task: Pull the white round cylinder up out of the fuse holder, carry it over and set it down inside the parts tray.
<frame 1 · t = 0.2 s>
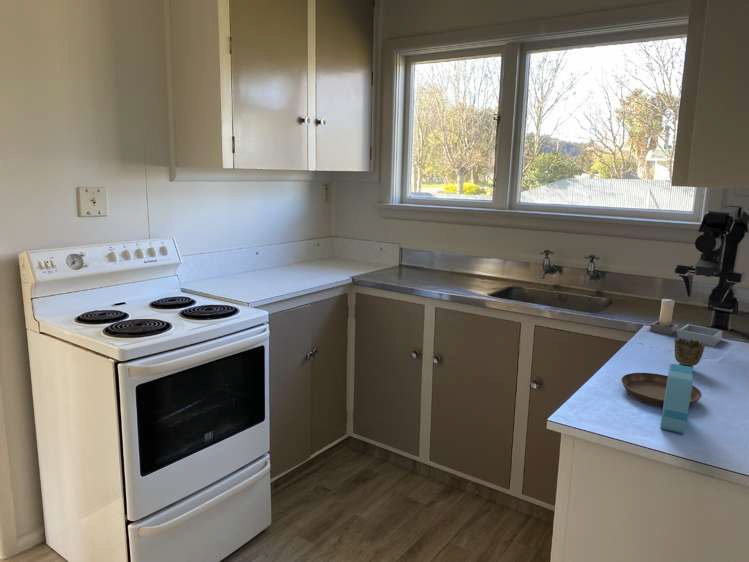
hand: (704, 299, 182), 15 cm above the countertop, tool pointing down, fingers open, 9 cm apart
cup: (685, 369, 159), on the countertop
fuse holder: (663, 334, 193), on the countertop
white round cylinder: (663, 331, 193), point 1 cm above the countertop, touching fuse holder
data package: (672, 423, 124), on the countertop
parts tray: (698, 342, 186), on the countertop
plant saucer: (658, 398, 139), on the countertop
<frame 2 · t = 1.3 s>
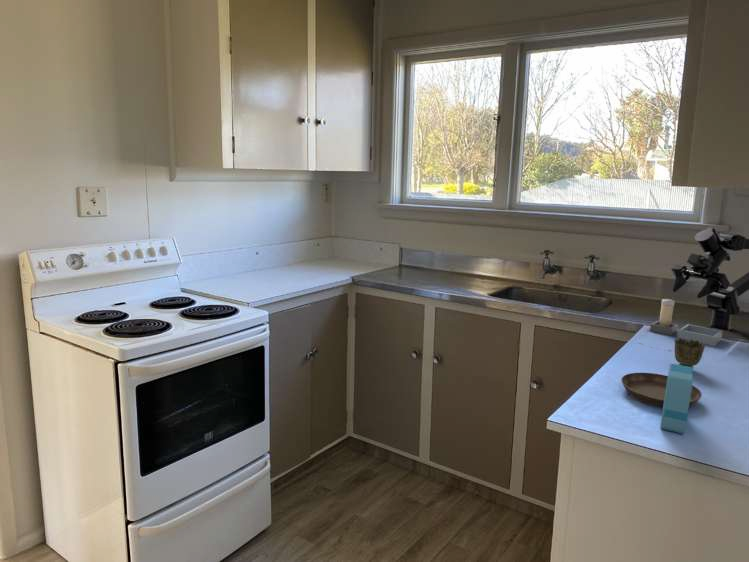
hand: (685, 294, 194), 14 cm above the countertop, tool tilted 45°, fingers open, 9 cm apart
nothing on the countertop moved.
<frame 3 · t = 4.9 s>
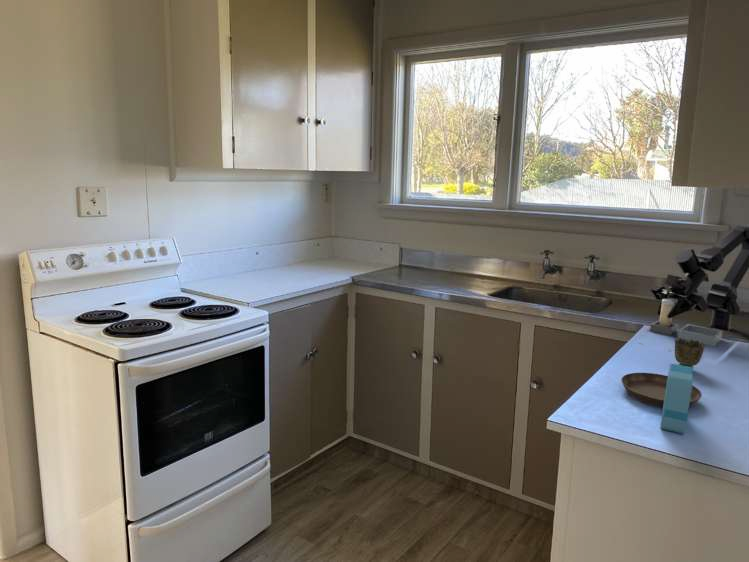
hand: (663, 315, 192), 7 cm above the countertop, tool tilted 45°, fingers closed on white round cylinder, 4 cm apart
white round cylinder: (663, 331, 193), point 1 cm above the countertop, touching fuse holder, gripper
everything else where it was.
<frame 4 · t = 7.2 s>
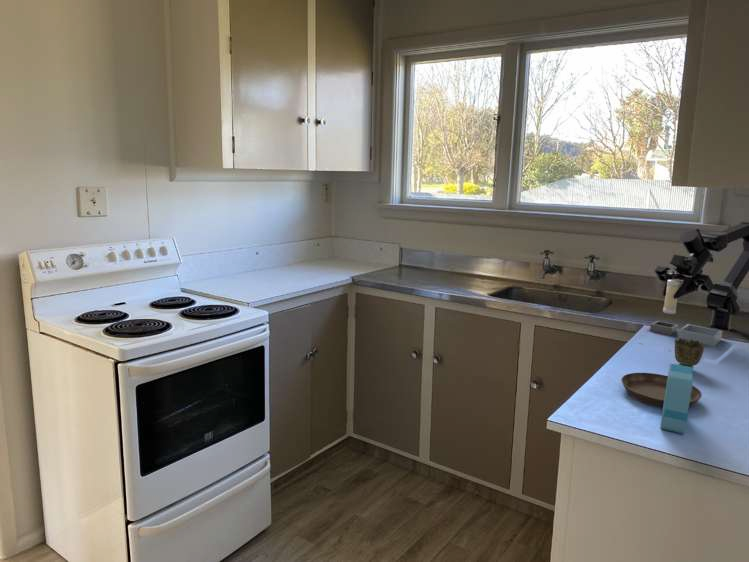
hand: (668, 296, 189), 13 cm above the countertop, tool tilted 45°, fingers closed on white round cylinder, 4 cm apart
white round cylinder: (669, 312, 191), point 8 cm above the countertop, touching gripper
everything else where it was.
when the fingers open (8 cm above the countertop, at t = 9.6 s): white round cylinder drops 1 cm, resting on parts tray.
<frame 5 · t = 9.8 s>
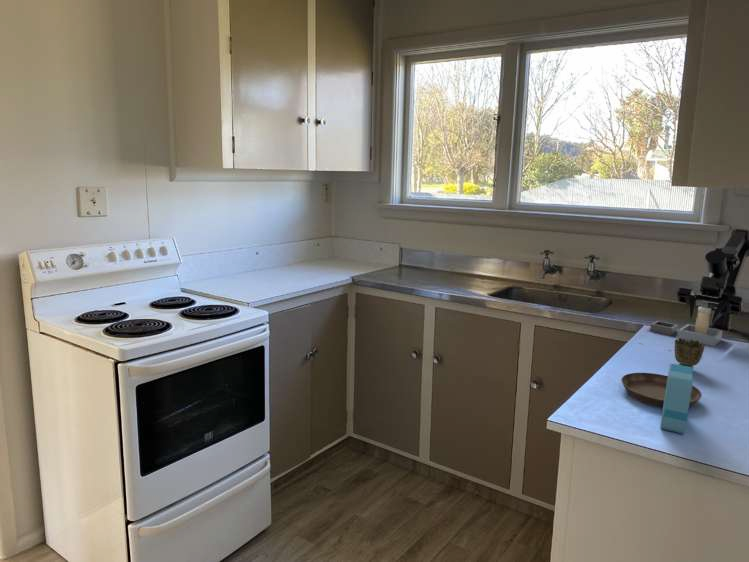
hand: (701, 320, 184), 8 cm above the countertop, tool tilted 45°, fingers open, 6 cm apart
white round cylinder: (699, 340, 186), point 1 cm above the countertop, touching parts tray
everything else where it was.
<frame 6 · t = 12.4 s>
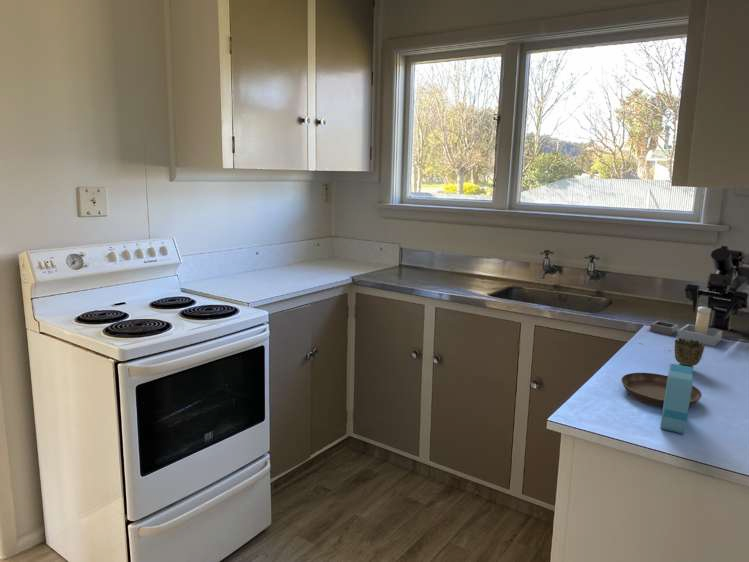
hand: (708, 315, 190), 8 cm above the countertop, tool tilted 45°, fingers open, 9 cm apart
nothing on the countertop moved.
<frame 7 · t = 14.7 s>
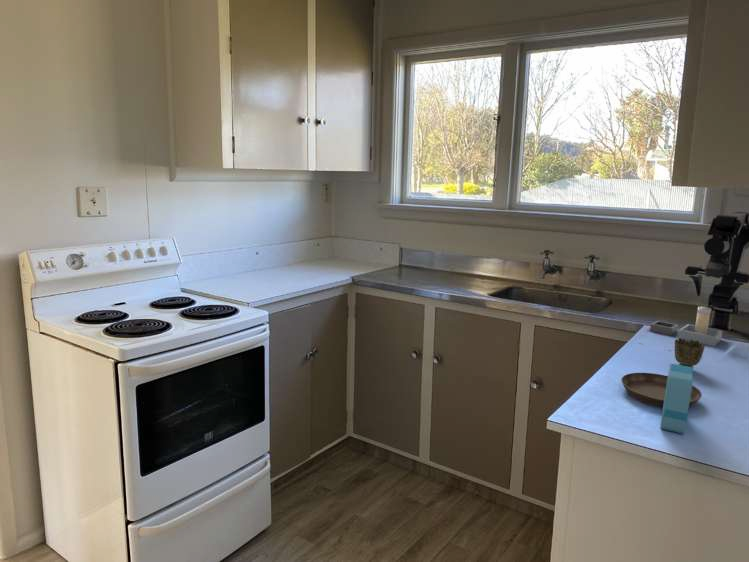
hand: (713, 298, 192), 13 cm above the countertop, tool pointing down, fingers open, 9 cm apart
nothing on the countertop moved.
at the end: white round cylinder inside the target area on the parts tray (0.0 cm from its centre), point 0.6 cm above the parts tray's base; the gripper is holding nothing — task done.
